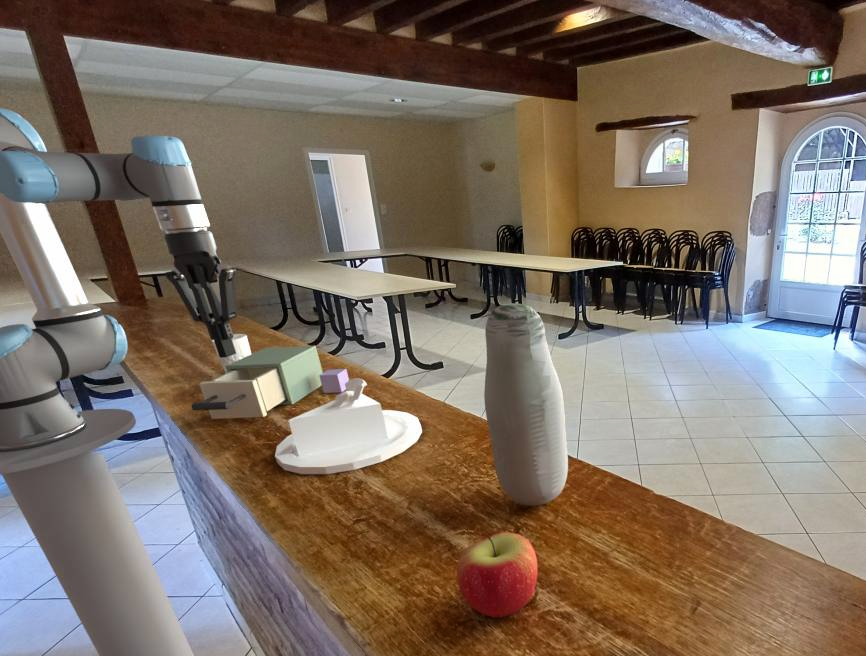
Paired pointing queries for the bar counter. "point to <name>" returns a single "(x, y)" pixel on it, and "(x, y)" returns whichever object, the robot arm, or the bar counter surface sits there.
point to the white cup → (240, 347)
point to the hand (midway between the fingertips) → (228, 355)
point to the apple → (498, 574)
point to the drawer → (242, 393)
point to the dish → (346, 434)
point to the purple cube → (334, 380)
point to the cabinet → (288, 368)
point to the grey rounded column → (524, 407)
